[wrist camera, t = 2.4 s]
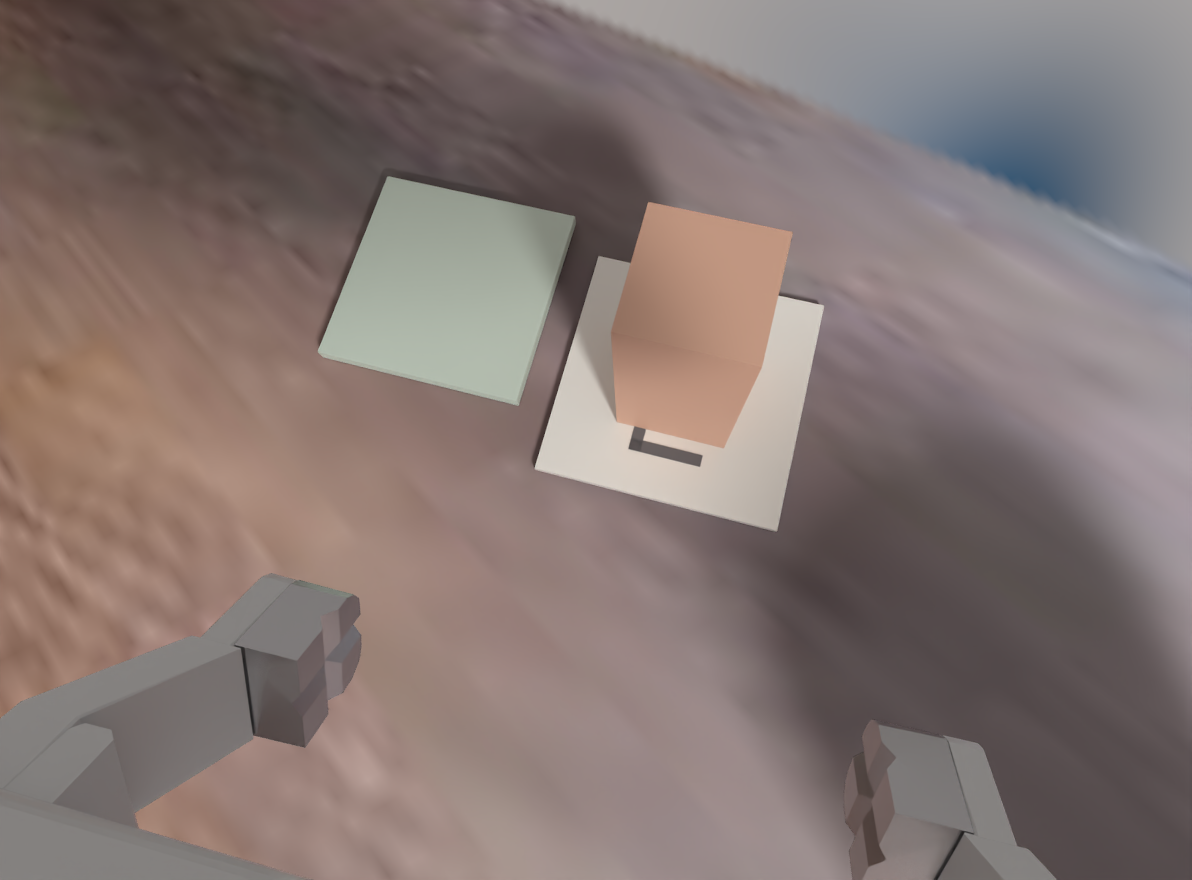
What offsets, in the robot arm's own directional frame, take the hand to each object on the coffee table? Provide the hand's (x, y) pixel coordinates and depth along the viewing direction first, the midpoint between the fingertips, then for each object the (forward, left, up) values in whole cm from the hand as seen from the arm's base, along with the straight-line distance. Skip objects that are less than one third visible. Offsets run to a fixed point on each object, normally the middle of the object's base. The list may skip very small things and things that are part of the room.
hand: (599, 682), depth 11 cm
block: (0, +11, -17) cm, 20 cm away
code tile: (0, +11, -17) cm, 20 cm away
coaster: (-11, +13, -17) cm, 24 cm away
